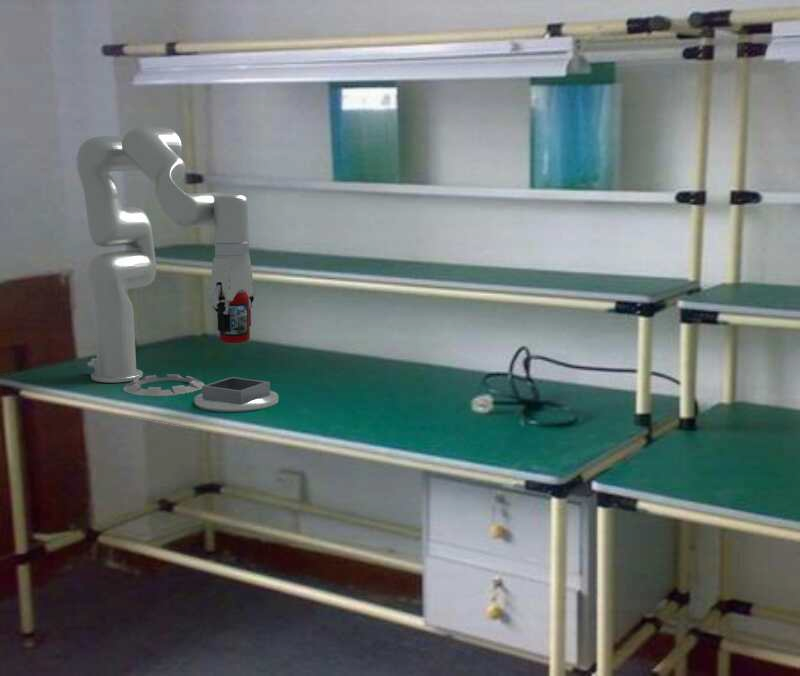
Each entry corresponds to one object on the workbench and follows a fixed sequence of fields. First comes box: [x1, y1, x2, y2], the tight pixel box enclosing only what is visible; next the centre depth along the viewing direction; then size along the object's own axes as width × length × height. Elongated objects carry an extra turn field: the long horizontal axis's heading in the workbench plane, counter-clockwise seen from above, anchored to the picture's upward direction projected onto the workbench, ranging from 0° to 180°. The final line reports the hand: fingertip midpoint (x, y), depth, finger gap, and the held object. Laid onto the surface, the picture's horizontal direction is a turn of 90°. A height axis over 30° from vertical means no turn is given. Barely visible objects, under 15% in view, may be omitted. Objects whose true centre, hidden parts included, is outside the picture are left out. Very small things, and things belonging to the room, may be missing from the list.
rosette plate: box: [194, 376, 279, 413], centre depth 260 cm, size 19×19×4 cm
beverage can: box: [219, 290, 251, 345], centre depth 257 cm, size 7×7×12 cm
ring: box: [122, 374, 206, 397], centre depth 276 cm, size 19×19×2 cm
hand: (234, 328), depth 257 cm, fingers closed on beverage can, 6 cm apart
